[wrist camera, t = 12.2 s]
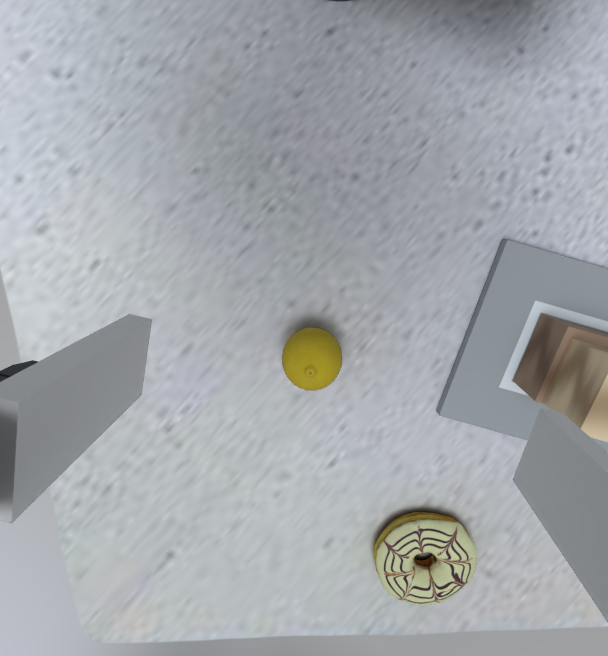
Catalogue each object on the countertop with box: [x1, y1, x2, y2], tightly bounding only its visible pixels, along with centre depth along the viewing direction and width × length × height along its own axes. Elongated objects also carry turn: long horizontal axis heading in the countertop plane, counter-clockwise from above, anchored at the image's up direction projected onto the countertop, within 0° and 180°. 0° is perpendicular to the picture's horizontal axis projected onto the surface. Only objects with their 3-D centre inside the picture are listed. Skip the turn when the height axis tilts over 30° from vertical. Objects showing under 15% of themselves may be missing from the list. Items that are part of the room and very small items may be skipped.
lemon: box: [282, 327, 342, 390], centre depth 42 cm, size 6×6×8 cm
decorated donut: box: [374, 512, 477, 606], centre depth 49 cm, size 10×11×4 cm
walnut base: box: [513, 314, 608, 404], centre depth 41 cm, size 7×7×5 cm
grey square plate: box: [437, 239, 608, 453], centre depth 44 cm, size 18×18×1 cm
